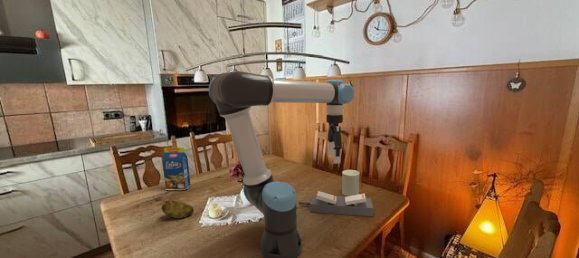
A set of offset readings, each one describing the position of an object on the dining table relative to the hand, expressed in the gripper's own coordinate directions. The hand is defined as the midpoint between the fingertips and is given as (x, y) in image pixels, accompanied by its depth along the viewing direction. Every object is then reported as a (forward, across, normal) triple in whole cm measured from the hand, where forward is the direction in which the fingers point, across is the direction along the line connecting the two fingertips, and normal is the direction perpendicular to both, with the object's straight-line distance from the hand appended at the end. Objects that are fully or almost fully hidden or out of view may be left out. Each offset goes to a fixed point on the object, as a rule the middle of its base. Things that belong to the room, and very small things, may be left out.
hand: (333, 158), depth 118 cm
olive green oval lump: (+25, -4, +73) cm, 77 cm away
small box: (+17, -8, -8) cm, 20 cm away
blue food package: (+25, +29, +86) cm, 94 cm away
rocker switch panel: (+23, -3, 0) cm, 24 cm away
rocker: (+17, -4, +4) cm, 18 cm away
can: (+23, +13, -12) cm, 29 cm away
